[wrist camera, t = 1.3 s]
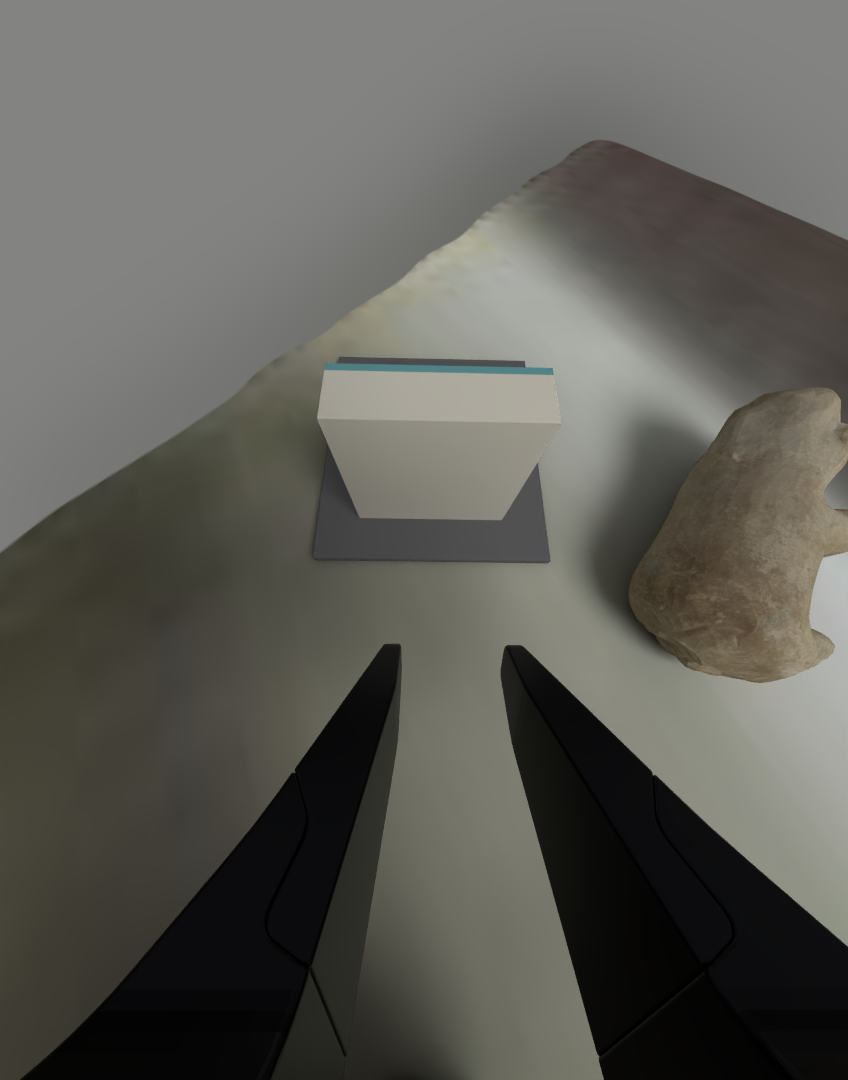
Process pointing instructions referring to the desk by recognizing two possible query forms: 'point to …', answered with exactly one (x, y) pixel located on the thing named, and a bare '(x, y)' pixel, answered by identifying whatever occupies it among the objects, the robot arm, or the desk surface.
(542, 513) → the mat
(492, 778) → the desk surface
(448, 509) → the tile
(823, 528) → the sculpture
